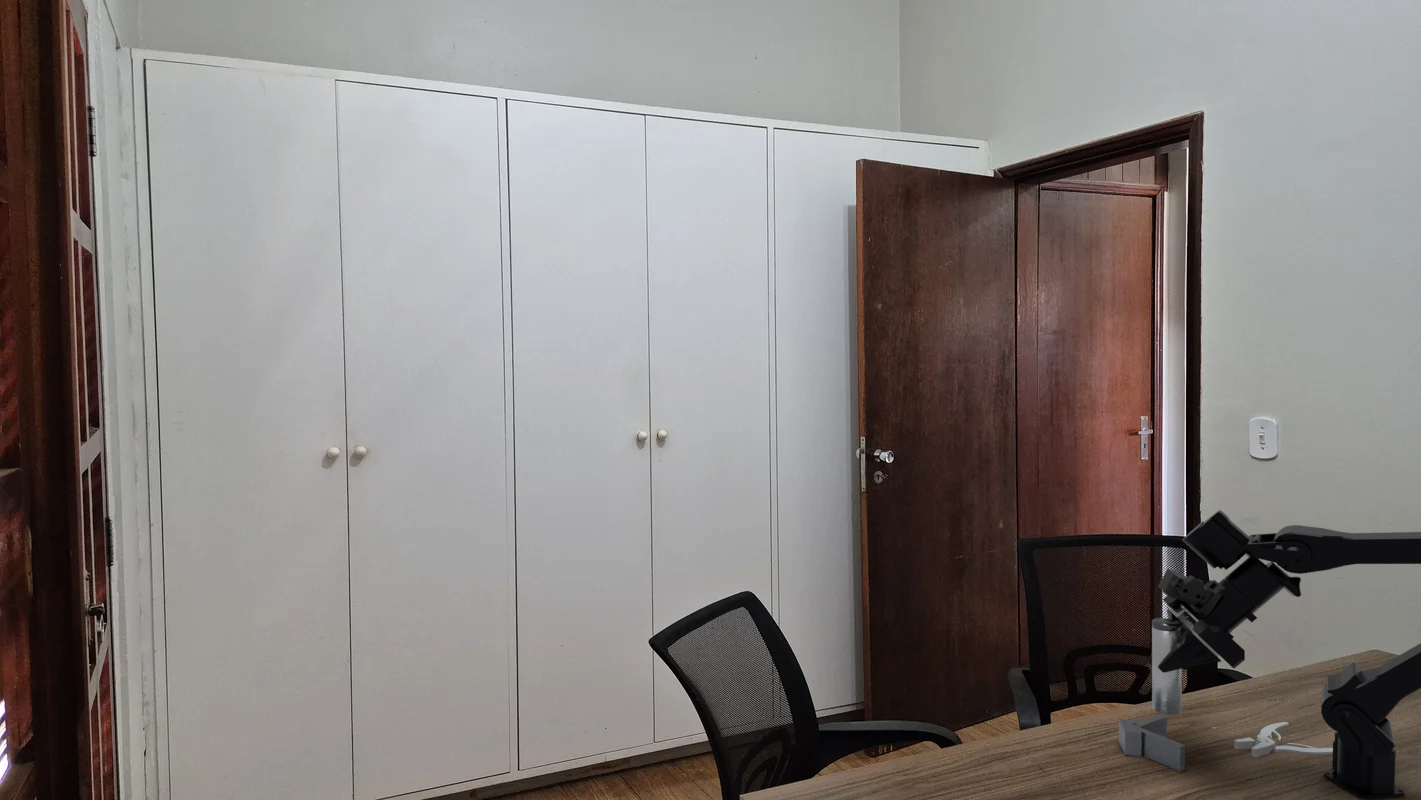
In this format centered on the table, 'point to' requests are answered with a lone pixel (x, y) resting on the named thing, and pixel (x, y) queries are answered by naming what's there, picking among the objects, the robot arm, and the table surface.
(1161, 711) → the axle
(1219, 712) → the table surface
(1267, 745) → the pliers
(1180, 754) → the v block
